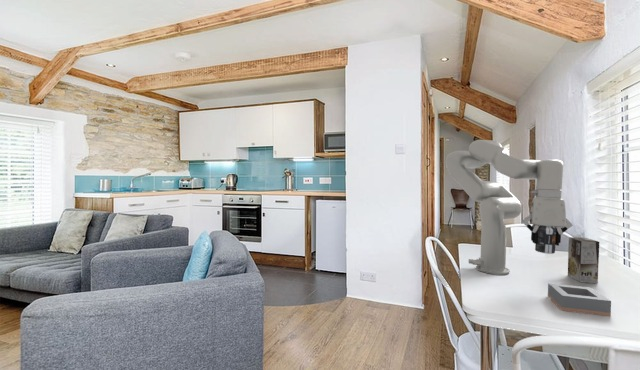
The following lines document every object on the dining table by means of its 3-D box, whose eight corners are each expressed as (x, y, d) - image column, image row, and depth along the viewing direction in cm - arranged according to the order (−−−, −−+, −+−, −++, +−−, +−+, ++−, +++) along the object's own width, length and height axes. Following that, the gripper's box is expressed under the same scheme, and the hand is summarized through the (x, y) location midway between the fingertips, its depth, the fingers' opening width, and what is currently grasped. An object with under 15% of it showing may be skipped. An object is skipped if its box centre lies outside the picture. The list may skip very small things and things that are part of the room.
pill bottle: (555, 255, 114) (557, 223, 113) (535, 252, 117) (537, 221, 116) (554, 251, 119) (556, 220, 118) (534, 249, 122) (536, 219, 121)
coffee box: (598, 283, 124) (600, 241, 123) (579, 282, 125) (581, 240, 125) (584, 276, 133) (586, 237, 132) (566, 275, 134) (568, 236, 134)
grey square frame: (561, 310, 98) (562, 295, 98) (547, 296, 110) (548, 283, 109) (610, 316, 94) (611, 301, 94) (590, 301, 106) (591, 287, 106)
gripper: (523, 193, 116) (521, 243, 117) (581, 196, 110) (578, 248, 111) (518, 192, 123) (515, 239, 124) (572, 194, 118) (569, 243, 118)
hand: (545, 243), depth 118 cm, fingers closed on pill bottle, 6 cm apart
